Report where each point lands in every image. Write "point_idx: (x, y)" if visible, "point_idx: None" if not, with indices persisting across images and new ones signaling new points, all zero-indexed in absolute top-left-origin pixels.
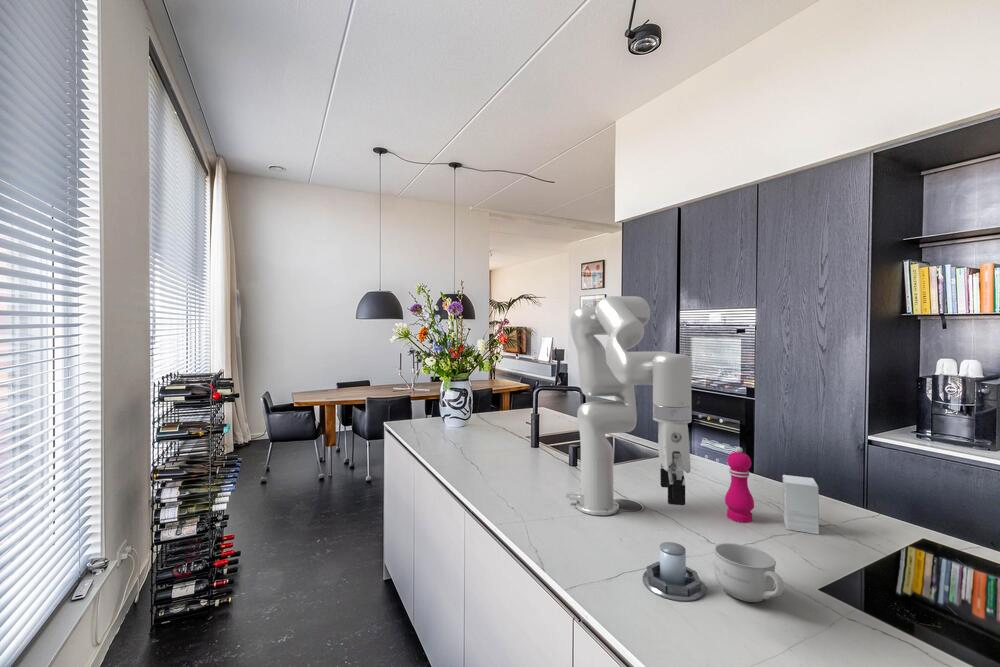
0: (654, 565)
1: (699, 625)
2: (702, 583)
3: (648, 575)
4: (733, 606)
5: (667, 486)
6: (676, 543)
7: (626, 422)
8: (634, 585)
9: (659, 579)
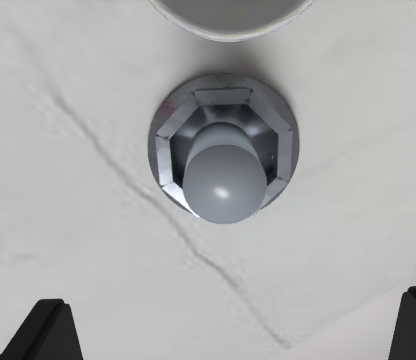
0: None
1: (386, 115)
2: (213, 76)
3: None
4: None
5: (76, 352)
6: (188, 170)
7: None
8: (248, 234)
9: None
